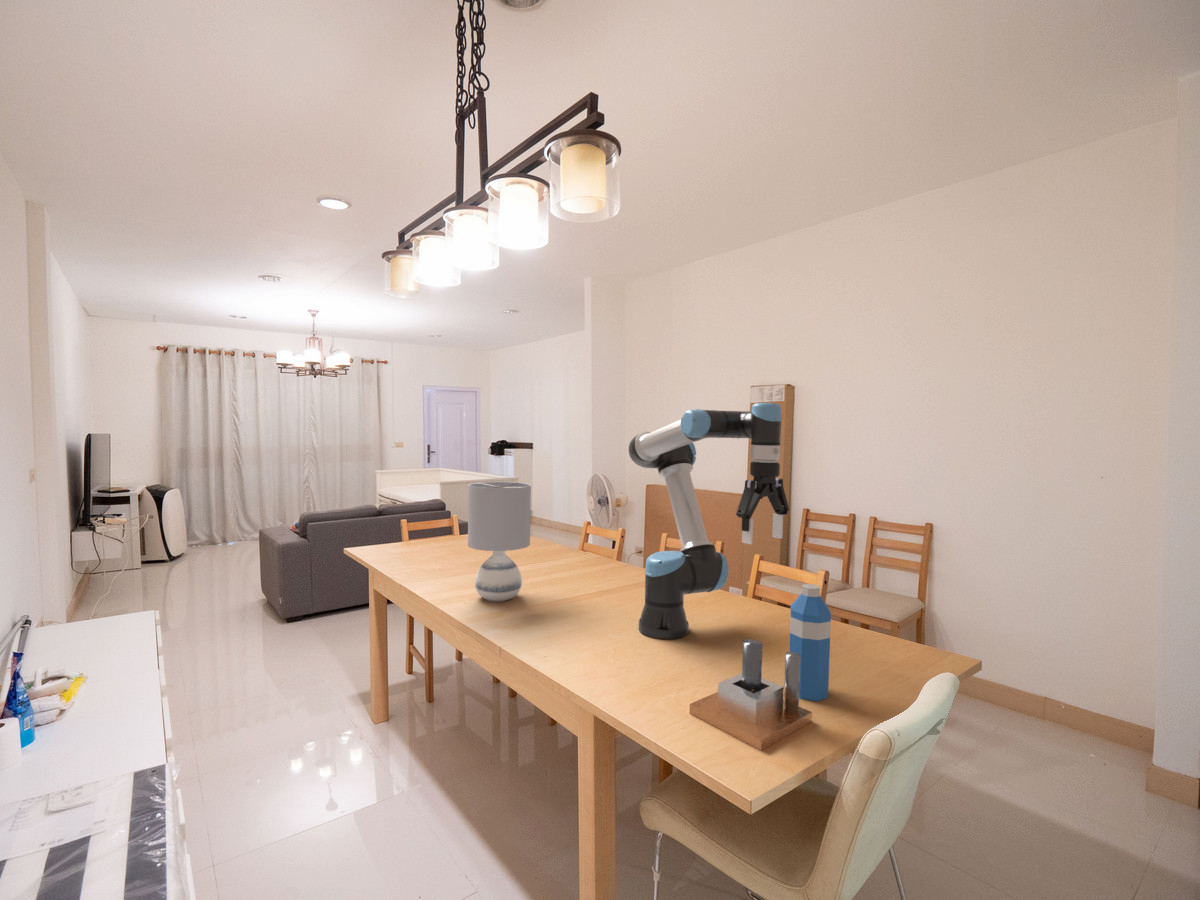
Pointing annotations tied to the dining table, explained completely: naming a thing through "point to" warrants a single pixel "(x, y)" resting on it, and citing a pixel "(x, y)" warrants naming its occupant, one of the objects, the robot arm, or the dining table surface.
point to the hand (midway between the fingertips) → (762, 540)
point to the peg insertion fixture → (756, 708)
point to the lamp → (499, 534)
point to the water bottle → (811, 642)
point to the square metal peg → (752, 665)
